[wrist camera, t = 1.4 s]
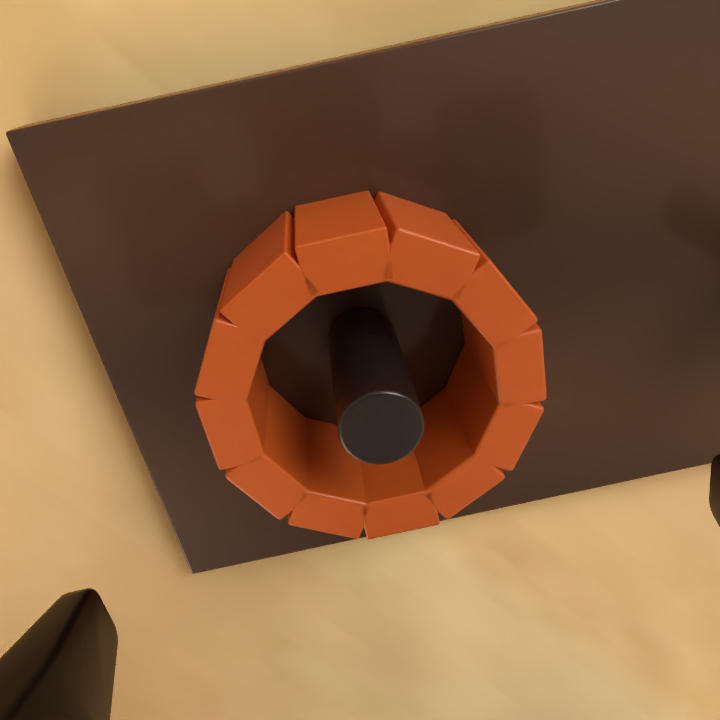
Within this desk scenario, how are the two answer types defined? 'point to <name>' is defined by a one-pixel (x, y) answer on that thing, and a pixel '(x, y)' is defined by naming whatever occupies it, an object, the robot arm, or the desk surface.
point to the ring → (441, 413)
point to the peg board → (434, 190)
